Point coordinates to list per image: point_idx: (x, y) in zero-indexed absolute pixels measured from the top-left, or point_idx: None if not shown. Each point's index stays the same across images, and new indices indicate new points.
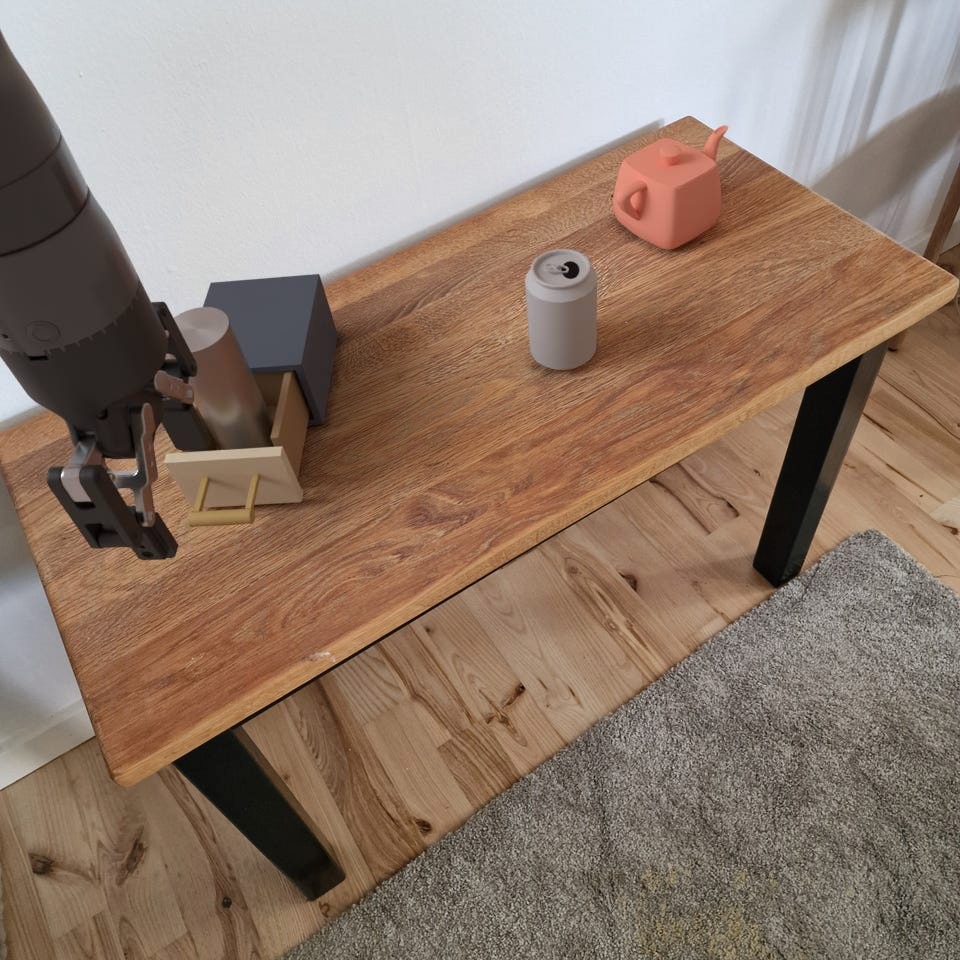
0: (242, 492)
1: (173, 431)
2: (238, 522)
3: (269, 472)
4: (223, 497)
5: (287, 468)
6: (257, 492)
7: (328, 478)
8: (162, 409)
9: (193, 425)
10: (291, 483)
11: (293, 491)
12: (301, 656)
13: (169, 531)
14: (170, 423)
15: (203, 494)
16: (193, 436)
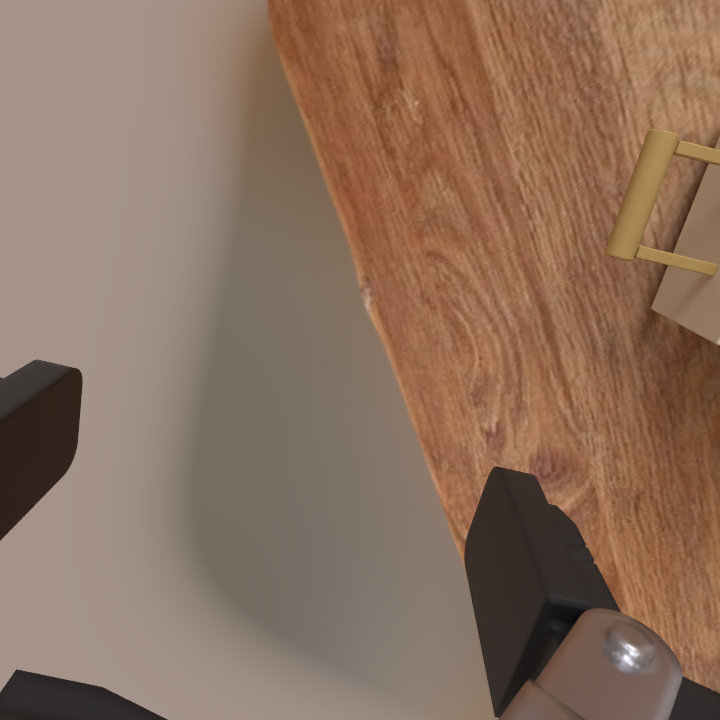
0: (706, 221)
1: (506, 542)
2: (614, 230)
3: (706, 297)
4: (716, 179)
5: (697, 333)
6: (693, 248)
7: (687, 350)
8: (551, 630)
9: (486, 632)
10: (675, 319)
11: (666, 310)
12: (370, 276)
13: (20, 517)
14: (514, 579)
15: (714, 163)
16: (481, 572)
